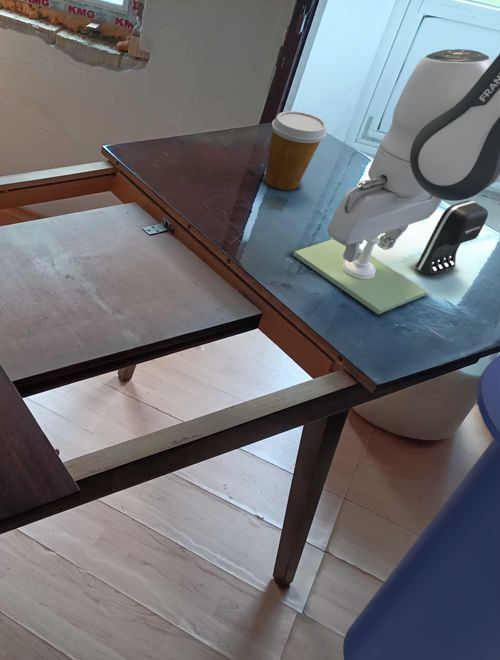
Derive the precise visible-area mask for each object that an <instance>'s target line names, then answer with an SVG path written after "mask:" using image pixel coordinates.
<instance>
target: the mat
mask: <svg viewBox="0 0 500 660" xmlns="http://www.w3.org/2000/svg"><path fill="white" fill-rule="evenodd" d="M345 249H346V246H345V245H342V244H341V243H339V242H337V241H336V240H334V239H333V238H331V239H328V240H326V241H325V240H324V241H321V242H319V243H315V244H313V245H310V246H306V247H304V248H301V249H297V250H294V251H293V254H292V256H293V257H295V258H296V259H297V260H298V261H300V262H301V263H303V264H305V265H306V266H308V267H309V268H310V269H312V270H313V271H315V272H316V273H318V274H319V275H321V276H322V277H323V278H325V279H326V280H328V282H331V283H332V284H334V285H335V286H337V287H338V288H339V289H340V290H342V291H344V293H346V294H348V295H349V296H351V297H352V298H354V299H355V300H356V301H357V302H359V303H360V304H362V305H364V306H365V307H366V308H368V309H369V310H371V311H372V312H374V313H375V314H377V315H381V314H383V313H385V312H388V311H390V310H393V309H395V308H397V307H400V306H402V305H405V304H407V303H410V302H412V301H415V300H417V299H420V298H422V297H425V296H426V295H427V293H428V290H426V289H425V288H424V287H421V286H420V285H418V284H417V283H415V282H413V281H412V280H410V279H409V278H408V277H406V276H404V275H402V274H401V273H399V272H398V271H396V270H395V269H393V268H392V267H390V266H388V265H387V264H386V263H384V262H382V261H380V260H379V259H378V258H377V257H375V256H373V255H372V254H371V255H370V259H369V262H370V263H371V264H372V265H373V266H374V267H375V268H376V273H375V276H374V277H373V278H371V279H359V278H355V277H353V276H351V275H349V274H347V273H346V272H345V271H344V270H343V268H342V265H343V263H344V262H345V259H344V258H343V254H344V252H345ZM359 250H361V251H363V249H362V248H360V247H359Z"/></svg>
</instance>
